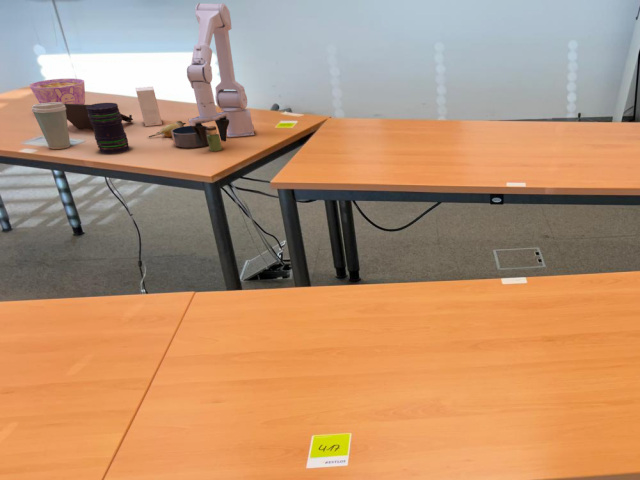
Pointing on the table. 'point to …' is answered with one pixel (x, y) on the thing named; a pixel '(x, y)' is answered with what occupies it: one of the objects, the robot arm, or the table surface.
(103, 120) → the dark striped cylinder
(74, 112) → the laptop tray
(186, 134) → the bowl
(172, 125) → the decorative bird model
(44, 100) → the bowl of food
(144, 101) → the small box
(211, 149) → the peg doll
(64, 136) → the disposable coffee cup
